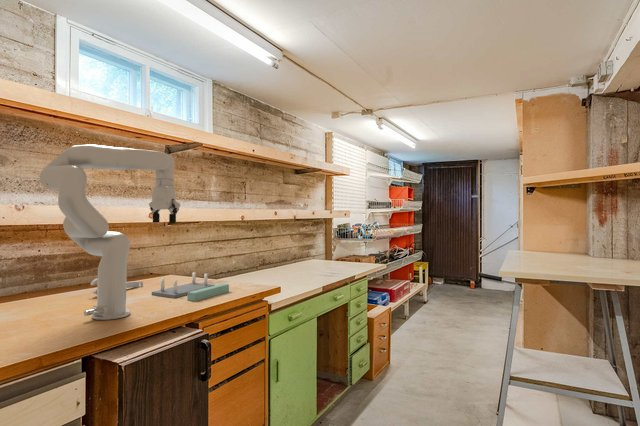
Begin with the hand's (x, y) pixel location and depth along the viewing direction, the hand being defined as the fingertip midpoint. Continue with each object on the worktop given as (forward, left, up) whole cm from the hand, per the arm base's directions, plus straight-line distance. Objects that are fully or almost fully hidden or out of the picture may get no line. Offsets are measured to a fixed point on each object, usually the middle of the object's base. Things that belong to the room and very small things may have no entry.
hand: (164, 222), depth 163 cm
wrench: (+5, +35, -35) cm, 50 cm away
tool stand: (+21, +8, -35) cm, 41 cm away
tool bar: (+19, -9, -35) cm, 41 cm away
